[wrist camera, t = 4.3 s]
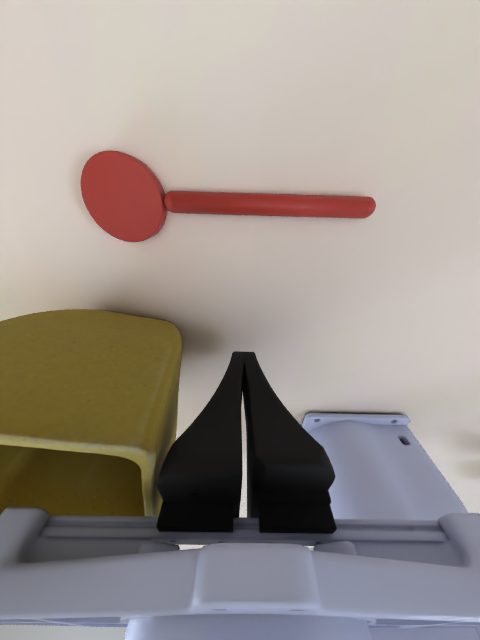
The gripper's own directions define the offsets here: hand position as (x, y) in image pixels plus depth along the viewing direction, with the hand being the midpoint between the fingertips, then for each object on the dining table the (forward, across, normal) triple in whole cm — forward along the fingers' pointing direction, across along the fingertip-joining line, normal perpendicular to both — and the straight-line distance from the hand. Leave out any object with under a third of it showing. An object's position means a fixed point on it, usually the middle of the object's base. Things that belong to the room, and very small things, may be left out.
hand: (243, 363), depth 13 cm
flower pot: (+2, +8, 0) cm, 8 cm away
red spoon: (+2, +2, -9) cm, 9 cm away
